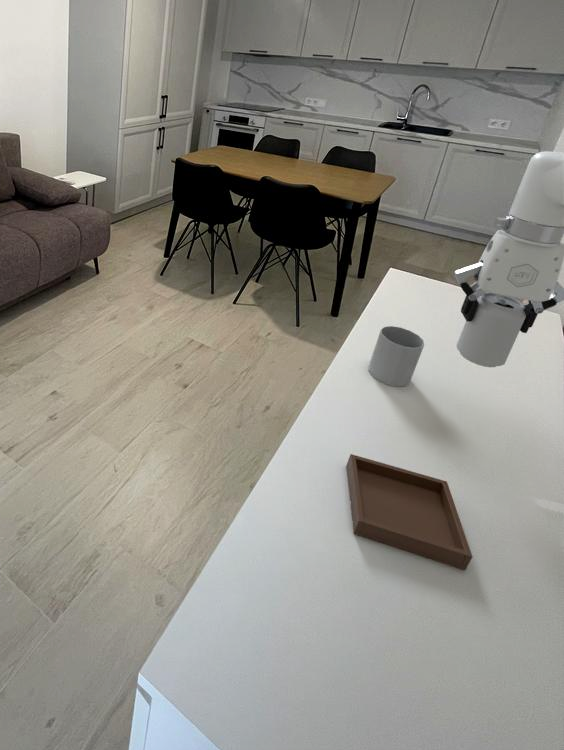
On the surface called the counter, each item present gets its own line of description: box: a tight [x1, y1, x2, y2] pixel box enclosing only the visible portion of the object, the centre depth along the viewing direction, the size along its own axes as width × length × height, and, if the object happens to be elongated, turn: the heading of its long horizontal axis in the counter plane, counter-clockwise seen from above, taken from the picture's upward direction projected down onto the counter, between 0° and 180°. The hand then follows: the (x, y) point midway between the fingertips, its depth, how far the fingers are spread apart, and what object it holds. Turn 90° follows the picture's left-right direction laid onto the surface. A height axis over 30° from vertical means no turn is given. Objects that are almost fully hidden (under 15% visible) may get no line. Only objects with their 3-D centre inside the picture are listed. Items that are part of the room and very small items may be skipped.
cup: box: [367, 325, 425, 388], centre depth 108 cm, size 8×8×10 cm
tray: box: [345, 453, 473, 571], centre depth 77 cm, size 15×14×3 cm
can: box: [455, 292, 526, 368], centre depth 88 cm, size 8×8×12 cm
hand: (493, 322), depth 87 cm, fingers closed on can, 7 cm apart
